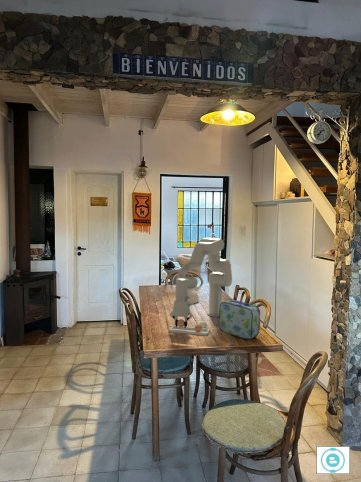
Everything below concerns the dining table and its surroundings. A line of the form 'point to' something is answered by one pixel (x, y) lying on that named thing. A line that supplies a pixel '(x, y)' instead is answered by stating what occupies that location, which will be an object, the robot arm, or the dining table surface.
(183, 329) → the grey channel
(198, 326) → the terracotta ball
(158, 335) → the dining table surface
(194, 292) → the kettle
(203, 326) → the ball cream
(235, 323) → the lunch box
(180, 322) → the terracotta ball
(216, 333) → the dining table surface
